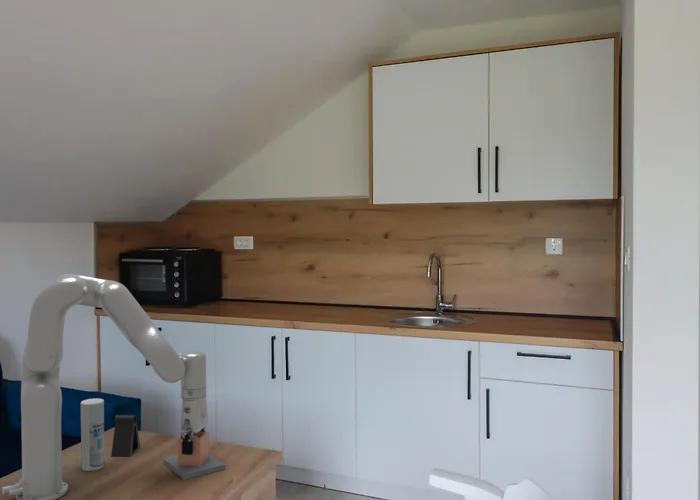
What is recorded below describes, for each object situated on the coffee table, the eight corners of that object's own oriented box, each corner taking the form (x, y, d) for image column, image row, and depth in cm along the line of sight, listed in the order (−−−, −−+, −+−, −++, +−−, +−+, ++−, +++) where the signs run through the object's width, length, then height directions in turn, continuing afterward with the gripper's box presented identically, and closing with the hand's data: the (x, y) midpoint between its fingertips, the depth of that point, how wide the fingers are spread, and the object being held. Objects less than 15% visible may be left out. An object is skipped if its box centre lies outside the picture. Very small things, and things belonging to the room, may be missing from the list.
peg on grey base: (183, 479, 171) (183, 448, 171) (163, 463, 184) (163, 433, 184) (225, 469, 179) (225, 438, 179) (203, 453, 192) (202, 425, 192)
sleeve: (200, 466, 178) (200, 439, 178) (177, 465, 179) (177, 438, 178) (208, 457, 185) (208, 431, 184) (187, 456, 186) (187, 430, 185)
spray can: (92, 461, 185) (91, 397, 185) (109, 464, 183) (108, 399, 182) (76, 469, 179) (75, 403, 178) (93, 472, 177) (93, 405, 176)
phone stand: (122, 446, 198) (122, 410, 198) (140, 446, 198) (140, 410, 198) (111, 456, 189) (110, 419, 189) (129, 456, 189) (129, 419, 189)
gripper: (194, 400, 172) (194, 459, 172) (215, 385, 189) (215, 439, 190) (169, 399, 173) (169, 458, 173) (192, 385, 190) (193, 438, 191)
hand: (193, 448), depth 182 cm, fingers open, 9 cm apart
